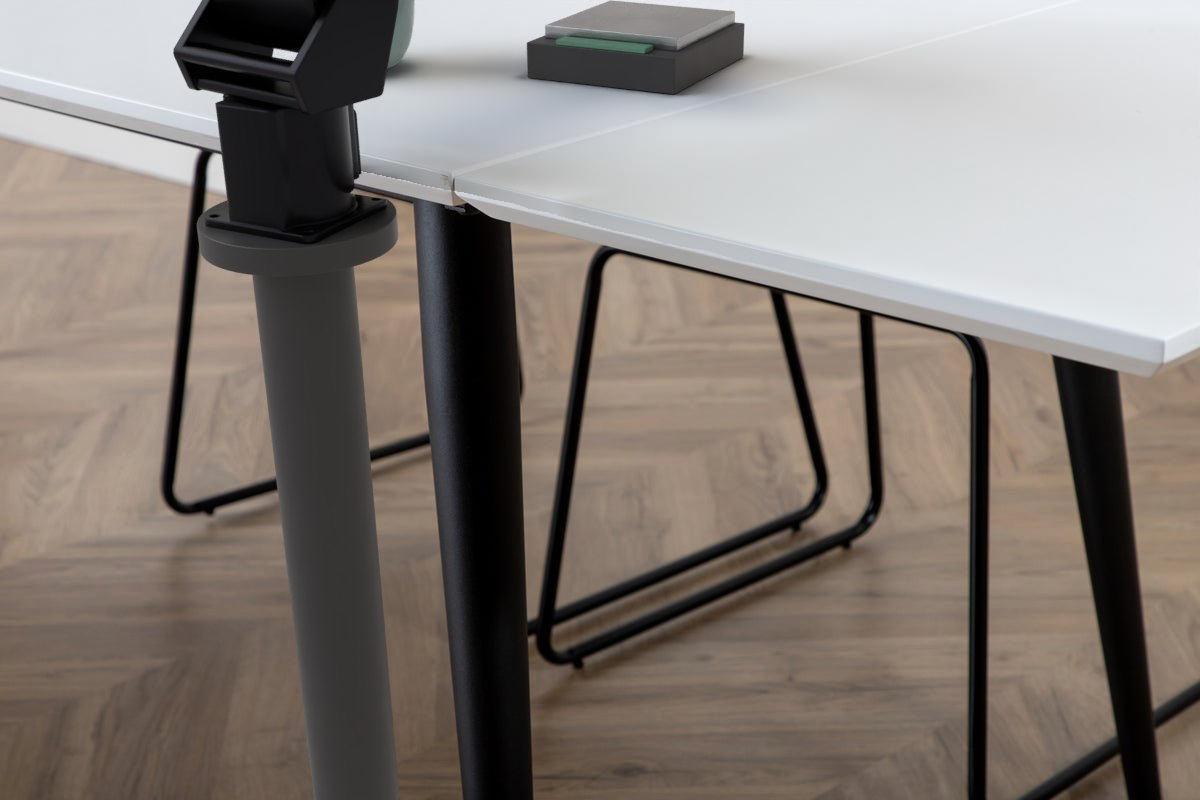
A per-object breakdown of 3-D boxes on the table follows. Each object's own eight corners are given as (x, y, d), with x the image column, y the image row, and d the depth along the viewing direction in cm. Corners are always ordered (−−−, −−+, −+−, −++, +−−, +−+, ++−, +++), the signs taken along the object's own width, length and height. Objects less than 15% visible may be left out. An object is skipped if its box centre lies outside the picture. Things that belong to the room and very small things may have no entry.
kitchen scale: (674, 94, 86) (675, 43, 85) (527, 77, 90) (525, 29, 89) (743, 57, 95) (745, 10, 94) (606, 43, 99) (606, -2, 98)
